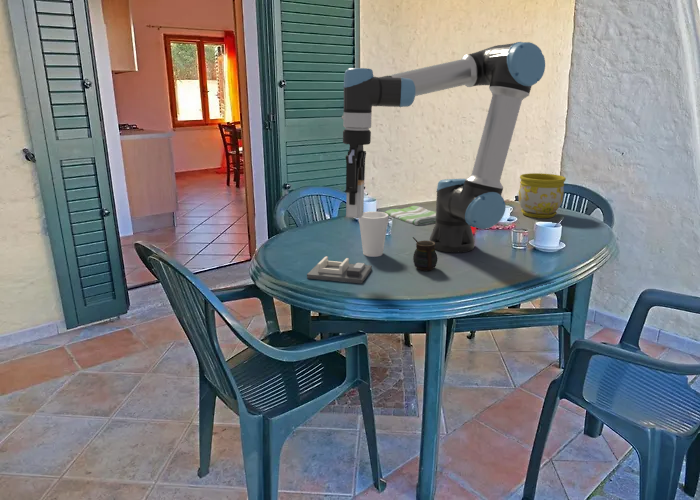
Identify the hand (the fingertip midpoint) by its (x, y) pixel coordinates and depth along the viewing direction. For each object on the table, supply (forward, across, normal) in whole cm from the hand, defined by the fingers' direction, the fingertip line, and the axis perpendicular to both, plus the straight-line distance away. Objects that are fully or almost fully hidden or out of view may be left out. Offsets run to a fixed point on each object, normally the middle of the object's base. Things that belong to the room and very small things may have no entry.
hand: (354, 213), depth 144 cm
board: (+18, +2, -3) cm, 18 cm away
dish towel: (+17, -72, +8) cm, 75 cm away
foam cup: (+18, -19, +2) cm, 26 cm away
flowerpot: (+15, -90, +58) cm, 108 cm away
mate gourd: (+17, -9, +20) cm, 28 cm away
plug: (+1, 0, 0) cm, 1 cm away
